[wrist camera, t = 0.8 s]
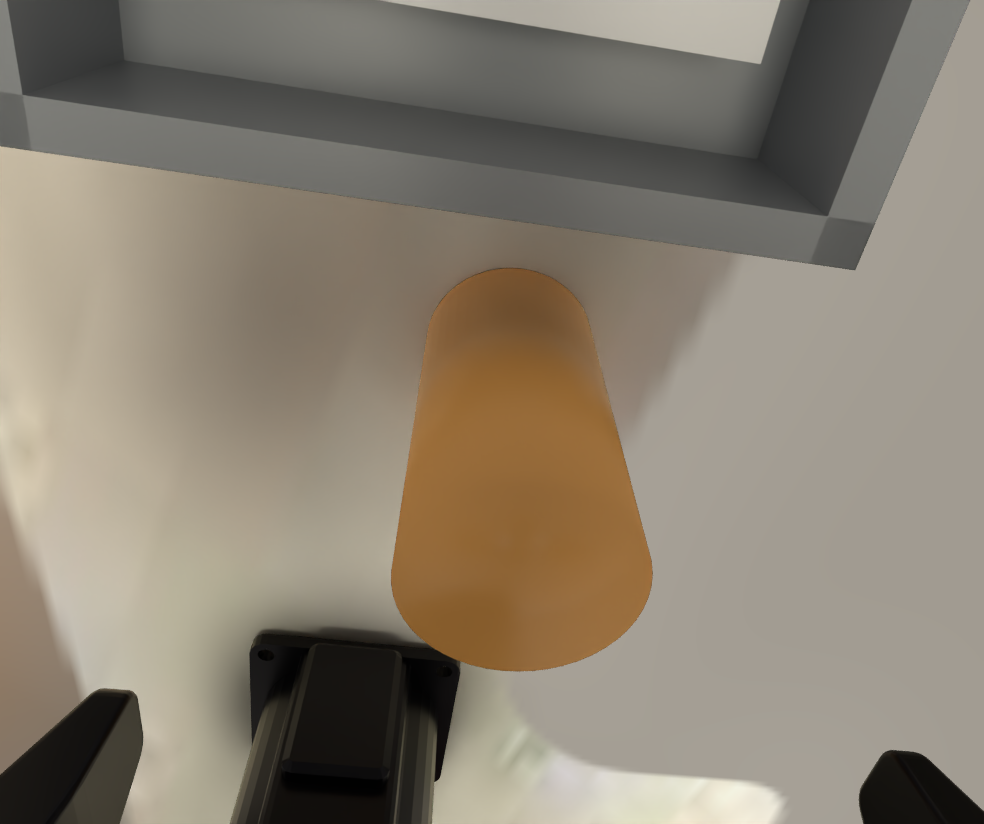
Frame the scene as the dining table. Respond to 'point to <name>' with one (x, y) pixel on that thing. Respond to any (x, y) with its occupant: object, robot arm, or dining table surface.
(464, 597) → the plug
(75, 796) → the robot arm
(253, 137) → the inlet box
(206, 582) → the dining table surface
